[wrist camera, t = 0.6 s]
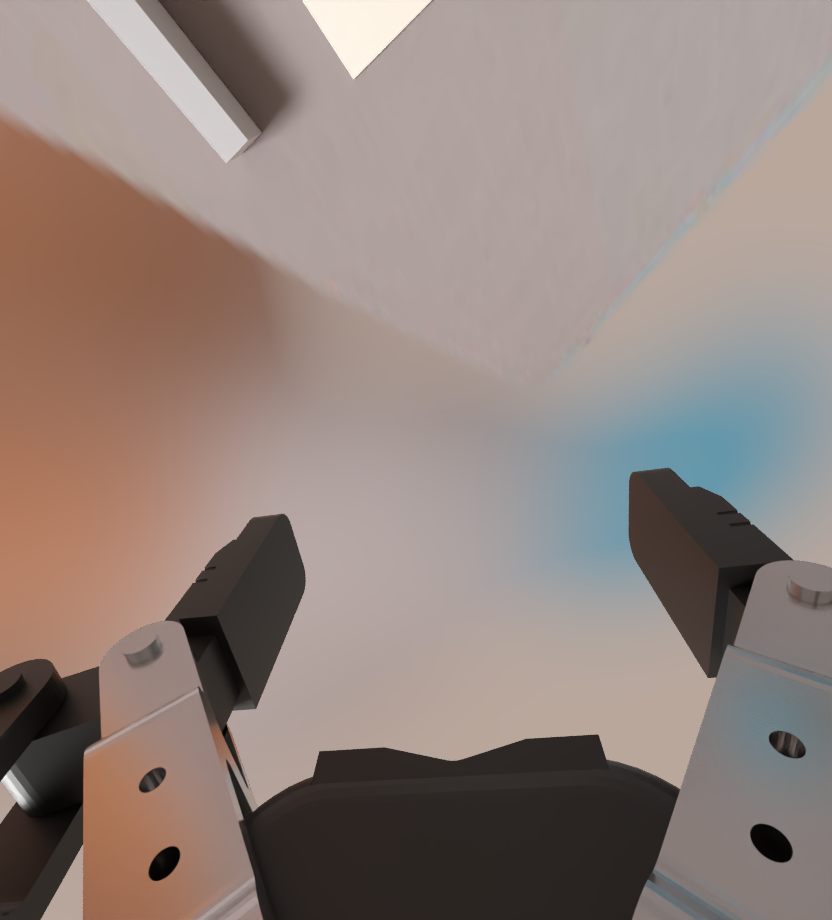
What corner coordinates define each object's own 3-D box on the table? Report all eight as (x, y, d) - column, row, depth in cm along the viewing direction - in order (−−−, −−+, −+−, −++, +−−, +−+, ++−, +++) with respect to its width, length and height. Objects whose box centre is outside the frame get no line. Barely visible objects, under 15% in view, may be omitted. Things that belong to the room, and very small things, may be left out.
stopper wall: (97, -19, 26) (66, -24, 24) (117, -51, 25) (86, -60, 23) (241, 154, 31) (226, 163, 29) (261, 132, 30) (248, 140, 28)
